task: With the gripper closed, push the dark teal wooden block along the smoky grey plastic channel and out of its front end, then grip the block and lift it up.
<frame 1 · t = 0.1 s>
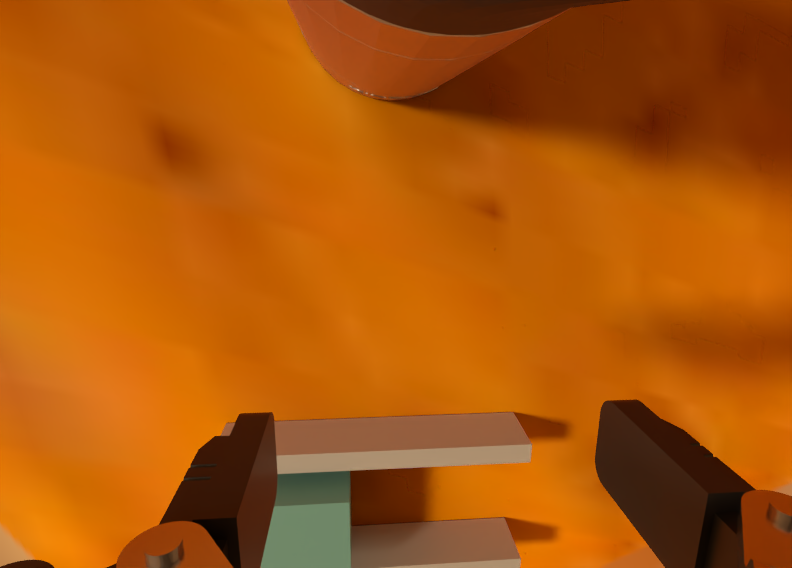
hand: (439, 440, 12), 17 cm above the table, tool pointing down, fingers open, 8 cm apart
teal block: (312, 482, 32), on the table
grey channel: (373, 480, 32), on the table
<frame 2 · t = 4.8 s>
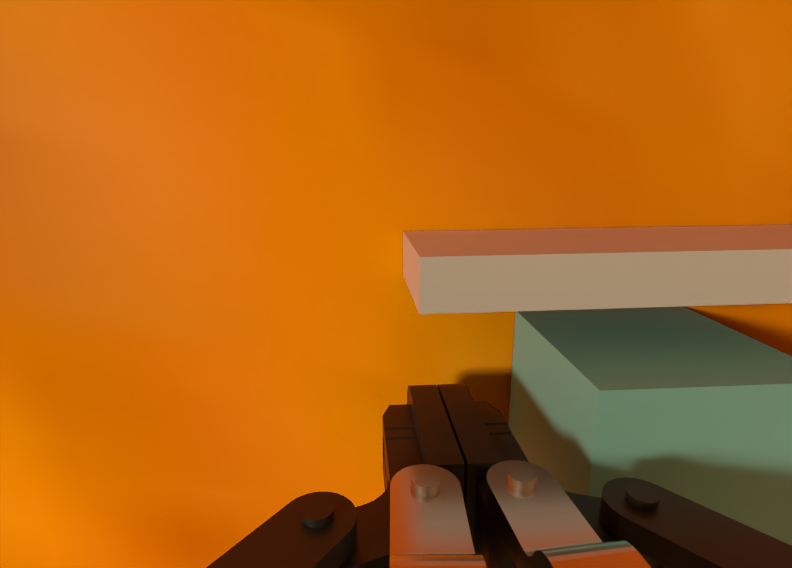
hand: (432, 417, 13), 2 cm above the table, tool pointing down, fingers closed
teal block: (591, 387, 15), on the table, touching gripper
grey channel: (697, 379, 15), on the table
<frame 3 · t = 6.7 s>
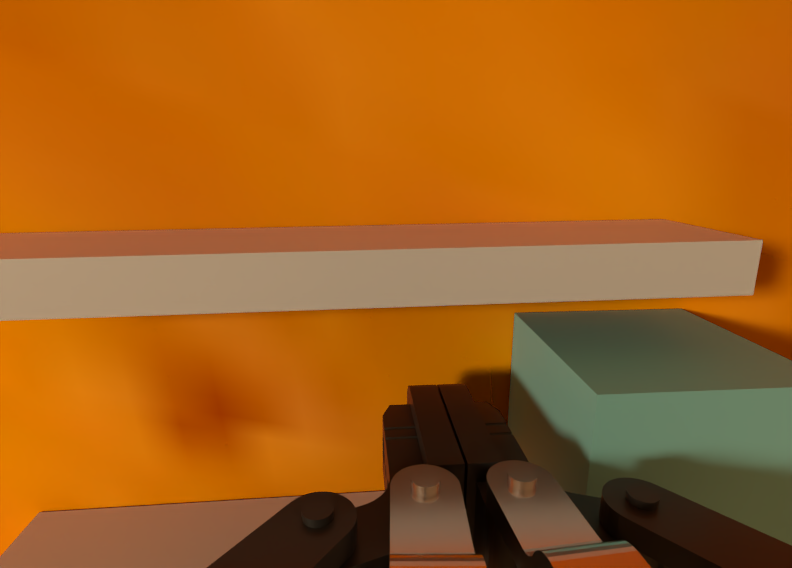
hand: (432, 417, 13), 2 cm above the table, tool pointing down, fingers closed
teal block: (590, 389, 15), on the table, touching gripper
grey channel: (344, 388, 14), on the table
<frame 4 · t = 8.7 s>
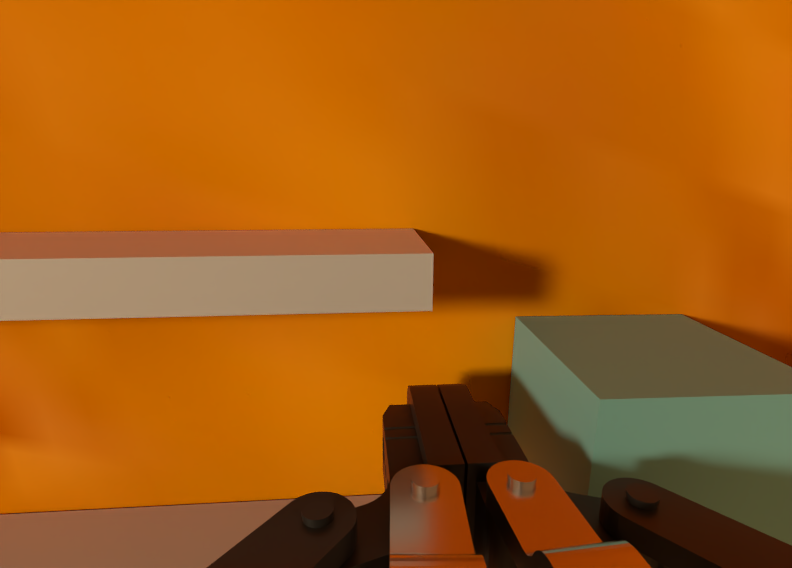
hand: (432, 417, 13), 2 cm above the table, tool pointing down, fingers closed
teal block: (590, 394, 15), on the table, touching gripper
grey channel: (88, 400, 14), on the table
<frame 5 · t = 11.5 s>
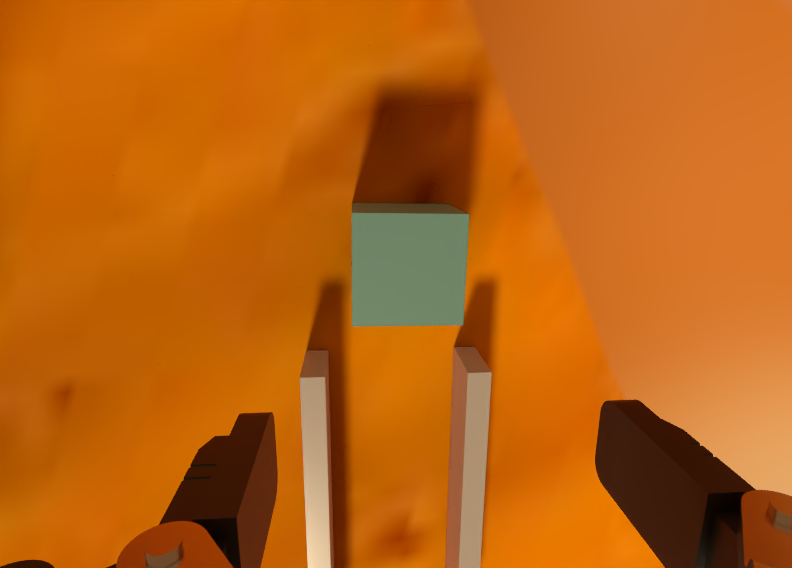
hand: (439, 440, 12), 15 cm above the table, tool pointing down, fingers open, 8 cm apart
teal block: (399, 250, 26), on the table
grey channel: (390, 489, 30), on the table
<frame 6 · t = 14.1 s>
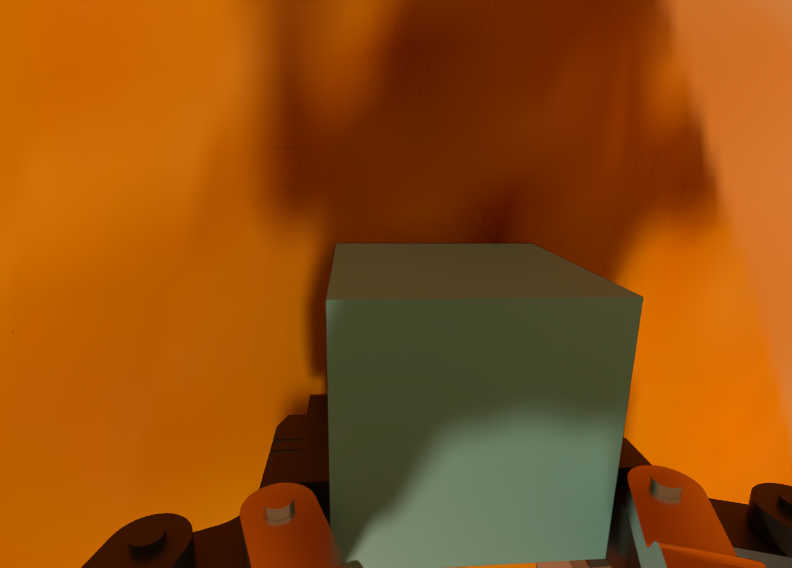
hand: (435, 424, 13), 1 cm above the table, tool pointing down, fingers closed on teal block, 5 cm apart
teal block: (432, 336, 13), on the table, touching gripper
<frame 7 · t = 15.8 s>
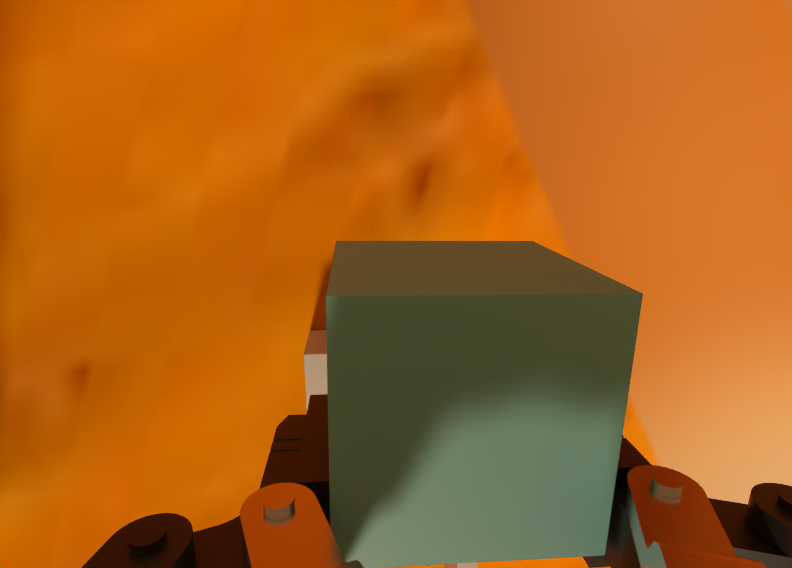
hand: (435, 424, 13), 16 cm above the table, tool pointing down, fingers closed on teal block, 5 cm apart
teal block: (432, 334, 13), point 15 cm above the table, touching gripper
grey channel: (393, 463, 31), on the table
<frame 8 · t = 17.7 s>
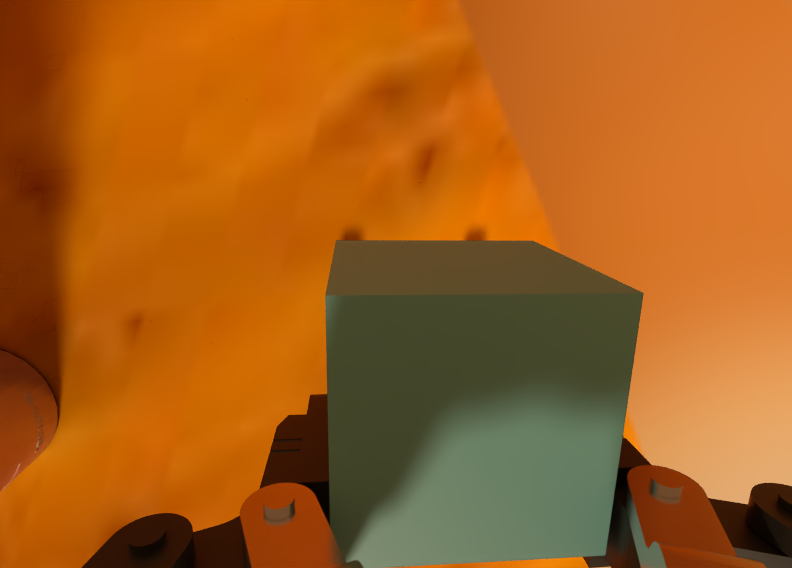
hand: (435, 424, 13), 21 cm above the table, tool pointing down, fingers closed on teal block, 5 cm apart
teal block: (432, 334, 13), point 20 cm above the table, touching gripper
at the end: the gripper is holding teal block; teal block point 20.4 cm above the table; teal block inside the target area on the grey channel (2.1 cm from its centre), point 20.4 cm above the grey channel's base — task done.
